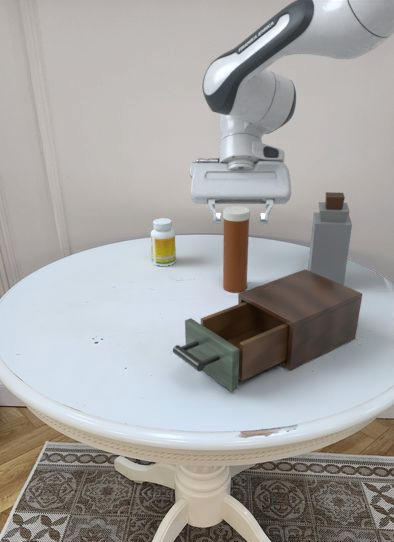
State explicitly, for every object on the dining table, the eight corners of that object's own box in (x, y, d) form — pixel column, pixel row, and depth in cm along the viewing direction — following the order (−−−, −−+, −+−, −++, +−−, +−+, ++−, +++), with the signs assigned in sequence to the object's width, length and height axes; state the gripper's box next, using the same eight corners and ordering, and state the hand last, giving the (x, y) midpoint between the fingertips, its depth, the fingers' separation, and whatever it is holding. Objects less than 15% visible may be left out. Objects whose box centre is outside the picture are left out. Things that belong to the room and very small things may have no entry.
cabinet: (289, 371, 83) (294, 322, 78) (237, 338, 91) (238, 293, 87) (355, 339, 90) (362, 293, 86) (301, 311, 99) (305, 268, 94)
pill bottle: (252, 288, 108) (255, 210, 99) (233, 295, 105) (235, 215, 97) (236, 280, 111) (238, 204, 103) (217, 286, 109) (217, 209, 100)
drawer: (208, 402, 75) (208, 362, 71) (164, 366, 83) (161, 328, 79) (302, 357, 84) (306, 319, 81) (253, 329, 92) (255, 293, 88)
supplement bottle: (147, 262, 120) (144, 220, 115) (166, 256, 123) (164, 215, 118) (161, 269, 117) (159, 226, 112) (181, 262, 120) (179, 221, 115)
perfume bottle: (307, 275, 113) (315, 189, 103) (339, 276, 112) (351, 190, 102) (308, 288, 107) (317, 199, 98) (342, 290, 106) (355, 200, 97)
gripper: (189, 150, 106) (188, 216, 104) (292, 150, 106) (293, 216, 103) (190, 166, 112) (189, 228, 110) (287, 166, 112) (288, 229, 110)
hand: (240, 223), depth 107 cm, fingers open, 8 cm apart
